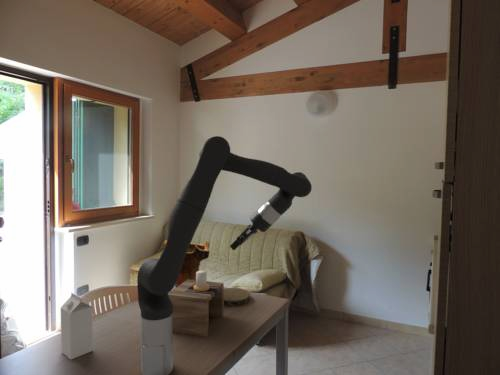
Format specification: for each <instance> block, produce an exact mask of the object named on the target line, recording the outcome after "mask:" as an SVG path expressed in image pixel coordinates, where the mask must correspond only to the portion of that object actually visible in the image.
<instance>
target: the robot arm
mask: <svg viewBox="0 0 500 375" xmlns="http://www.w3.org/2000/svg"><path fill="white" fill-rule="evenodd" d="M229 143H230V142H228V140H227V139H226V138H225V137H223V136H220V135H219V136H218V135H216V136H211V137H210V138H208V139H206V140H205V141H204V142H203V144H202V146H201V147H200V150H199V153H198V156H199V158H198V161H197V164H196V167H195V169H194V171H193V173H192V175H191V176H190V178H189V179H188V180H187V182H186V184H185V186H184V187H183V189H182V190H181V192H180V194H179V196H178V197H177V199H176V201H175V203H174V206H173V207H172V210H171V213H170V214H169V219H168V226H167V236H166V240H167V241H166V240H165V241H166V245H165V246H164V248H163V250H162V252H161V255H160V256H159V258H155V257H154V258H149V259H146V260H145V261H143V263H141V265H140V267H139V269H138V271H137V278H136V279H137V281H136V282H137V283H136V284H137V300H138V305H139V306H138V307H139V309H140V350H141V351H140V357H141V358H140V363H141V364H140V365H141V366H140V367H141V369H140V370H141V371H140V373H141V375H170V374H171V373H172V372H173V370H174V332H173V304H172V302H171V300H170V298H169V296H168V293H169V292H171V291H172V290H174V288H175V287H176V286H175V284H176V282H177V280H178V277H179V274H180V271H181V268H182V264H183V261H184V258H185V255H186V253H187V250H188V248H189V246H190V243H192V241H193V238H194V237H195V234H196V232H197V229H198V227H199V225H200V223H201V221H202V219H203V216H204V213H205V211H206V209H207V206H208V203H209V200H210V198H211V195H212V193H213V190H214V186H215V183H216V182H217V179H218V177H219V175H220V174H221V171H225V172H229V173H234V174H238V175H241V176H244V177H247V178H249V179H253V180H256V181H259V182H261V183H265V184H267V185H270V186H273V187H276V188H278V190H277V192H276V193H275V194H273V195H272V196H271V197H270V198H269V200H267V201H266V202H264V204H262V205H261V206H260V207H259V208H258V209H257V210H256V211H255V212H254V213H253V214H252V215H250V221H251V223H252V224H251V223H250V224H249V225H247V226H246V227H245V228H244V230H242V231H241V232H240V235H239V236H237V237H236V239H235V240H234V241H233V242H232V243H231V244H230V245H229V247H230V248H231V250H233V251H235V250H236V249H237V248H239V247H240V246H242V245H243V244H244V243H245V242H247V241H248V240H250V239H251V238H252V237H254V236H256V234H257V233H258V230H259V232H262V233H266V232H267V230H269V229H270V228H271V227H273V225H274V224H275V223H276V222H277V221H278V220H279V219H280V217H282V216H283V215H284V214H285V213H286V212H287V211H288V210H289V209H290V208H291V206H292V204H293V200H294V198H295V197H297V198H305V197H308V196H309V195H310V194H311V192H312V183H311V181H310V180H309V178H308V176H307V175H306V174H304V173H303V172H300V171H299V172H293V173H291V172H289V171H288V170H287V169H286V168H284V167H282V166H279V165H277V164H275V163H272V162H268V161H265V160H261V159H255V158H248V157H243V156H241V155H238V154H236V153H233V152H231V146H230V144H229Z"/></svg>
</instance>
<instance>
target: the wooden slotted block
mask: <svg viewBox="0 0 500 375" xmlns="http://www.w3.org/2000/svg"><path fill="white" fill-rule="evenodd" d="M194 285H196V280H188V279H187V280H186V281H185V282H183V283H182V284H180V285H179V286H178V287H176V286H175V287H174V288H173V289H172V290H171V291H170V292H169V293H168V296H169V298H170V300H171V302H172V304H173V334H174V333H176V334H183V335H188V336H196V337H203V338H207V337H209V335H210V334H209V333H210V332H209V326H210V325H209V323H210V322H209V317H211V318H219V319H220V318H221V319H223V318H224V289H225V288H224V282H220V281H219V282H217V281H207V285H209V290H207V291H203V292H198V291H195V290H194Z"/></svg>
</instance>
